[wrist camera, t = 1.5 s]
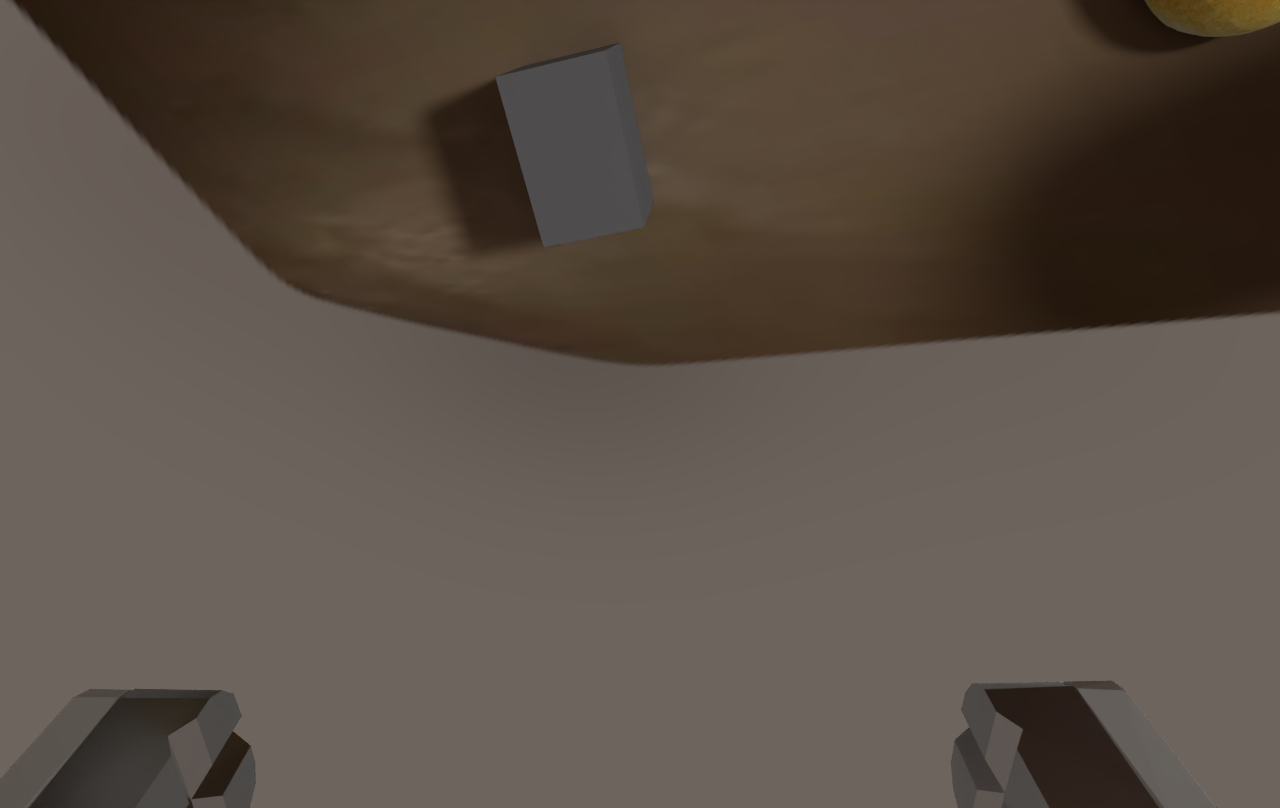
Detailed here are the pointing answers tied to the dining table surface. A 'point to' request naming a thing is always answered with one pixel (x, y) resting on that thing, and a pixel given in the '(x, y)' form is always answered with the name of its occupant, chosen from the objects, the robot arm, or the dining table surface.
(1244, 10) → the bread roll
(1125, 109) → the dining table surface
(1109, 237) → the dining table surface
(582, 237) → the dark grey block
